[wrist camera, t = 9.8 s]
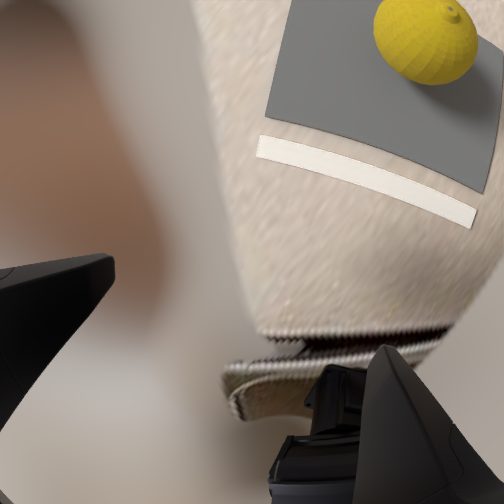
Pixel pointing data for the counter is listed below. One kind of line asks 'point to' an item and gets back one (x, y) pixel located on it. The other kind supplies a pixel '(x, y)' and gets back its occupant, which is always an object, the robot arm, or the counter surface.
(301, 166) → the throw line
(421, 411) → the robot arm
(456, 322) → the counter surface
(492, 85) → the mat
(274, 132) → the counter surface
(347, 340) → the counter surface
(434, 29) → the lemon
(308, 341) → the counter surface
